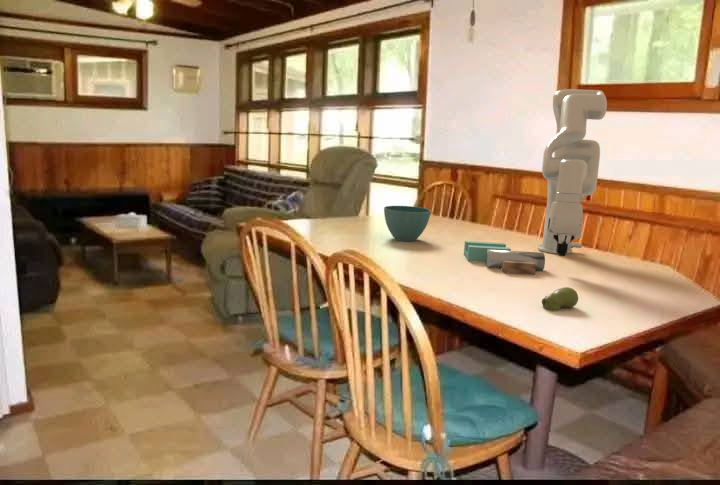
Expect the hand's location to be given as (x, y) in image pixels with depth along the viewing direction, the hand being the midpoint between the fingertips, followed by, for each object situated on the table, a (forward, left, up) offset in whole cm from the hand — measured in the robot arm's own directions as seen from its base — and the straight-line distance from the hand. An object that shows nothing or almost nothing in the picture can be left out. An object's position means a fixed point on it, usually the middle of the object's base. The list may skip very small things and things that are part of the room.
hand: (561, 255), depth 190 cm
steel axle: (+14, -2, -3) cm, 15 cm away
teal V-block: (+21, -14, -6) cm, 26 cm away
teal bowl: (+48, -42, -6) cm, 64 cm away
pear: (+12, +40, -6) cm, 43 cm away
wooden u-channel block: (+14, -1, -6) cm, 15 cm away
